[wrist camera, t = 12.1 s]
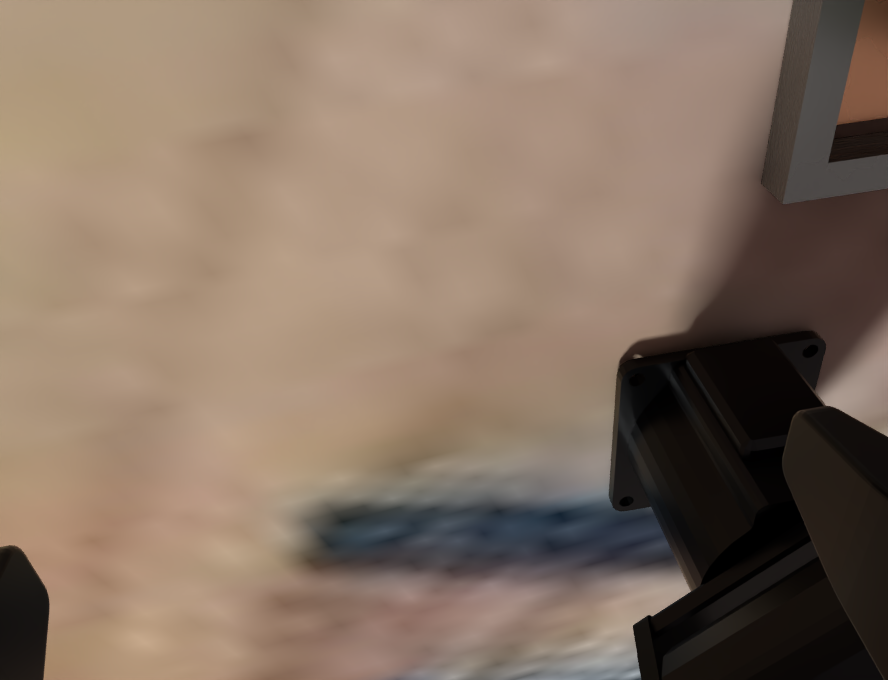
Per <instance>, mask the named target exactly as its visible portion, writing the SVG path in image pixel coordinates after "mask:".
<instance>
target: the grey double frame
mask: <svg viewBox="0 0 888 680" xmlns="http://www.w3.org/2000/svg"><path fill="white" fill-rule="evenodd" d="M881 118H888V0H793V5H792V11H791V17H790V22H789V28H788V34H787V39H786V45H785V51H784V56H783V62H782V68H781V74H780V79H779V85H778V91H777V96H776V102H775V108H774V113H773V119H772V125H771V130H770V136H769V142H768V147H767V153H766V159H765V164H764V170H763V176H762V181H761V184H762V185H763V186H764V187H765V188H766V189H767V190H768V191H769V192H770V193H771V194H772V195H773V196H774V197H776V198H777V199H778V200H779V201H780V202H781V203H782V204H789V203H796V202H802V201H809V200H816V199H822V198H829V197H835V196H842V195H849V194H855V193H862V192H869V191H875V190H882V189H888V131H887V132H880V133H873V134H866V135H859V136H852V137H846V138H839V139H834V134H835V130H836V125H839V124H846V123H853V122H860V121H867V120H874V119H881Z"/></svg>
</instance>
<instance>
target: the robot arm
mask: <svg viewBox="0 0 888 680" xmlns="http://www.w3.org/2000/svg"><path fill="white" fill-rule="evenodd" d="M807 346H809V347H808V348H806V347H807ZM805 348H806V349H805ZM825 350H826V344H825V342H824V340H823V339H822V338H821V337H820V336H819V335H818V334H817V333H816V332H814V331H802V332H796V333H790V334H784V335H778V336H772V337H766V338H760V339H753V340H747V341H741V342H735V343H729V344H723V345H717V346H711V347H704V348H698V349H692V350H686V351H680V352H674V353H668V354H662V355H655V356H649V357H643V358H637V359H632V360H629V361H627V362H625V363H624V364H622V365H621V367H620V368H619V369H618V372H617V380H616V395H615V410H614V424H613V439H612V454H611V469H610V484H609V498H610V501H611V503H612V506H613V508H614V509H615V510H618V511H629V510H634V509H640V508H646V507H652V509H653V511H654V514H655V516H656V518H657V520H658V522H659V524H660V526H661V529H662V531H663V533H664V535H665V537H666V539H667V541H668V543H669V546H670V548H671V550H672V552H673V554H674V556H675V558H676V560H677V563H678V565H679V567H680V569H681V571H682V573H683V575H684V578H685V580H686V582H687V584H688V586H689V588H690V590H691V592H690V593H688V594H687V595H685V596H684V597H682V598H681V599H679V600H677V601H676V602H674V603H673V604H671V605H670V606H668V607H667V608H665V609H663V610H662V611H660V612H659V613H657V614H656V615H654V616H653V617H652V616H650V615H648V616H646V617H645V618H643V619H642V620H640V621H639V622H637V623H636V624H634V625H633V630H634V636H635V642H636V648H637V657H638V662H639V668H640V674H641V680H888V437H887V436H885V435H884V434H882V433H880V432H878V431H876V430H875V429H873V428H871V427H869V426H867V425H866V424H864V423H862V422H860V421H858V420H857V419H855V418H853V417H851V416H849V415H848V414H846V413H844V412H842V411H840V410H839V409H836V408H834V407H831V406H826V405H825V404H824V402H823V401H822V400H821V399H820V397H819V396H818V395H817V394H816V392H815V387H816V384H817V380H818V376H819V372H820V369H821V365H822V361H823V357H824V354H825ZM638 373H640V374H639V375H638V376H636V377H634V378H631V377H632V376H633V375H635V374H638ZM48 620H49V597H48V593H47V590H46V588H45V586H44V584H43V582H42V581H41V579H40V578H39V576H38V574H37V573H36V571H35V570H34V568H33V566H32V565H31V563H30V562H29V560H28V558H27V557H26V555H25V554H24V552H23V551H22V550H21V549H20V548H19V547H17V546H12V545H9V546H4V547H0V680H43V678H44V666H45V655H46V643H47V631H48Z"/></svg>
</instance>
